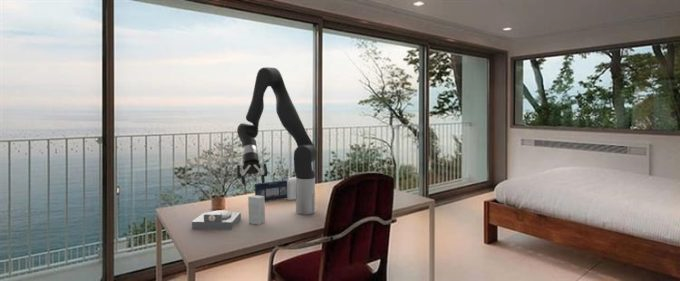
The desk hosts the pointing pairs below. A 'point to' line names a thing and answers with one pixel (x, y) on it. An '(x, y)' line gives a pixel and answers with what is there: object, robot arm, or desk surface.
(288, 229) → the desk surface
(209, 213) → the scale
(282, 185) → the vhs cassette tape
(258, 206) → the skincare box
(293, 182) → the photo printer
